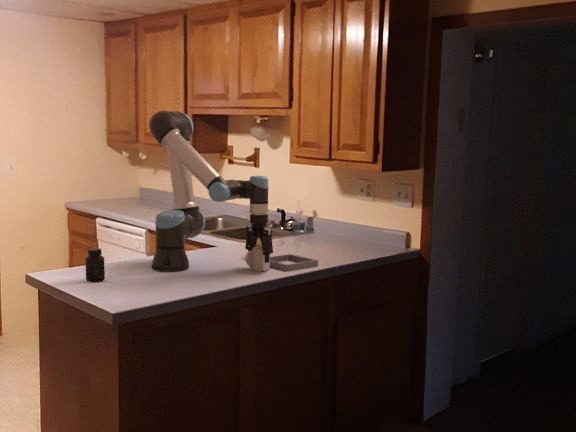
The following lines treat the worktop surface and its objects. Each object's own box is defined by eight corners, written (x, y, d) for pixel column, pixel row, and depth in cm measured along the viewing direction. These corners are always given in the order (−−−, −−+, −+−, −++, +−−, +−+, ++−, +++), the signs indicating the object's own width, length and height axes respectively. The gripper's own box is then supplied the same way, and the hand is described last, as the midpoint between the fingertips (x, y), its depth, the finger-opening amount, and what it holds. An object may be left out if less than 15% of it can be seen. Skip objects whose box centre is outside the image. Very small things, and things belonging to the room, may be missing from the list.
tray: (286, 271, 267) (286, 265, 267) (258, 264, 280) (258, 258, 280) (318, 265, 279) (318, 260, 279) (289, 259, 292) (289, 253, 292)
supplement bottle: (82, 280, 245) (81, 248, 244) (99, 277, 250) (98, 246, 249) (91, 283, 240) (90, 251, 239) (108, 280, 245) (107, 249, 244)
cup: (270, 271, 267) (270, 249, 266) (245, 271, 266) (245, 249, 265) (269, 267, 274) (269, 246, 273) (245, 267, 273) (245, 246, 272)
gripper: (282, 215, 262) (282, 271, 264) (250, 210, 277) (250, 263, 280) (268, 216, 257) (268, 273, 259) (236, 212, 272) (236, 266, 275)
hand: (258, 268), depth 269 cm, fingers closed on cup, 8 cm apart
